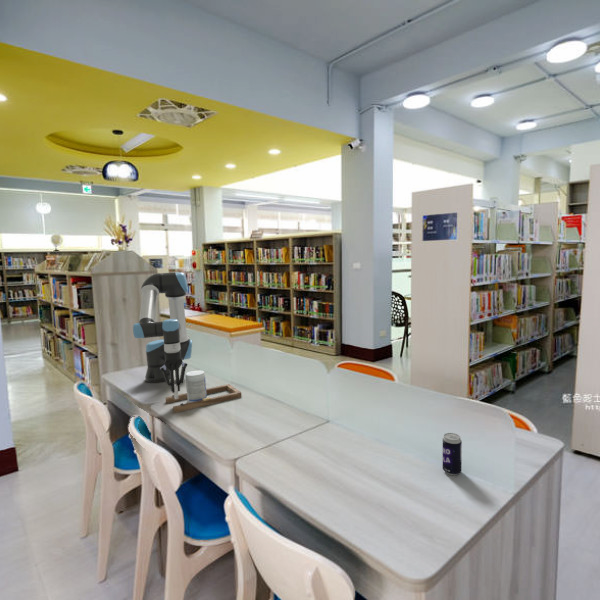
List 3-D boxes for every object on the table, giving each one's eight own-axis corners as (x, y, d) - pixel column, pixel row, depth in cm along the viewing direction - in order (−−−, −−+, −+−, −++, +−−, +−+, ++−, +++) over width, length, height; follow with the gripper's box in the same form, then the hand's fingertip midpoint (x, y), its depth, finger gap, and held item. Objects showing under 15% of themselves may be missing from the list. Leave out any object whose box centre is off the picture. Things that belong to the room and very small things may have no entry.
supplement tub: (210, 400, 200) (208, 372, 198) (193, 406, 193) (191, 376, 192) (200, 396, 207) (198, 368, 205) (183, 401, 200) (181, 373, 199)
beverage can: (446, 465, 131) (446, 430, 130) (463, 470, 128) (464, 435, 127) (439, 472, 127) (439, 437, 126) (458, 478, 124) (458, 442, 122)
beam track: (165, 402, 200) (165, 396, 200) (229, 388, 218) (228, 382, 218) (174, 412, 186) (174, 406, 186) (241, 396, 204) (241, 391, 203)
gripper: (160, 355, 185) (164, 403, 188) (188, 350, 192) (191, 397, 195) (156, 352, 191) (160, 398, 194) (183, 347, 198) (187, 393, 201)
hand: (176, 398), depth 194 cm, fingers closed
